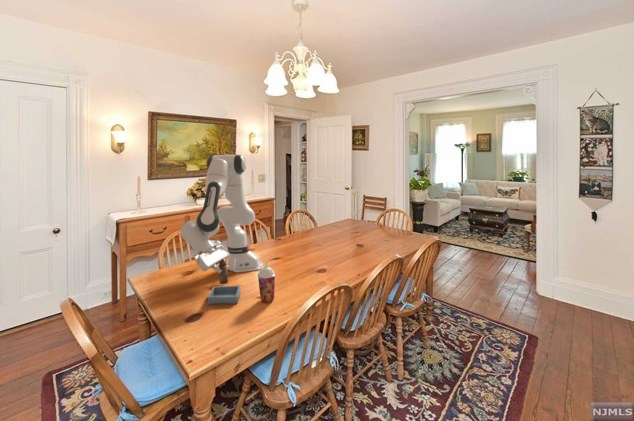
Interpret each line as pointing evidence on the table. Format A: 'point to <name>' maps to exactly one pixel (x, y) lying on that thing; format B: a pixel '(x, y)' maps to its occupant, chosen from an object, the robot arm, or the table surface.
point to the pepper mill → (223, 272)
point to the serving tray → (224, 295)
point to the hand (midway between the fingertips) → (224, 270)
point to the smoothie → (266, 284)
